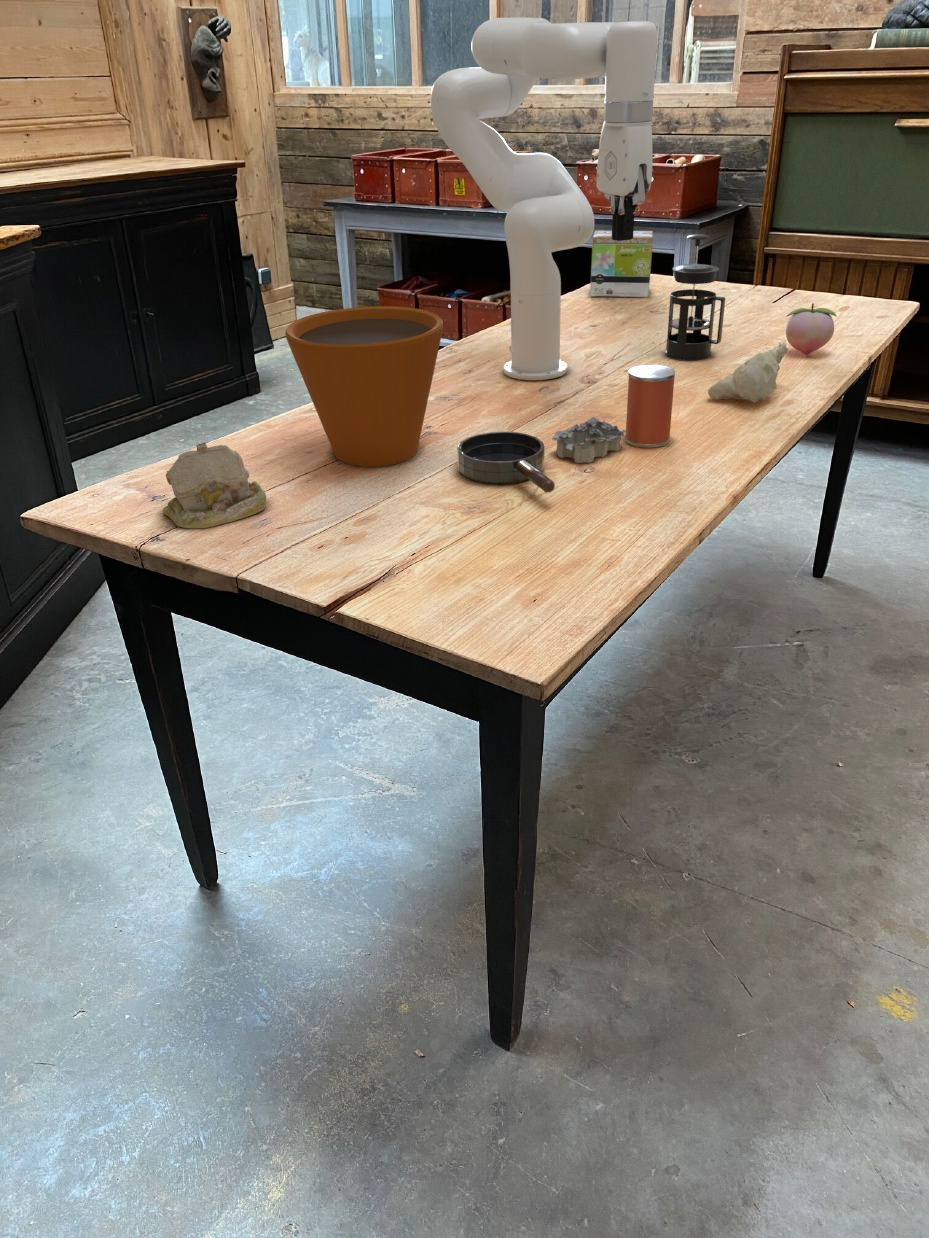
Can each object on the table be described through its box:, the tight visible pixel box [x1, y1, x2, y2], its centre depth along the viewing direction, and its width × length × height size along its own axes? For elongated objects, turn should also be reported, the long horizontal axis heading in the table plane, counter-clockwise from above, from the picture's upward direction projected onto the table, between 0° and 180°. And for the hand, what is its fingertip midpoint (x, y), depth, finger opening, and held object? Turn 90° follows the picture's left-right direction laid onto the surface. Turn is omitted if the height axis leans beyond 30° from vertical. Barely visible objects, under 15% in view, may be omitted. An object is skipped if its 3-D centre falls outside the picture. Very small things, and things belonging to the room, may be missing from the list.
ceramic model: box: [162, 441, 267, 529], centre depth 131 cm, size 14×11×10 cm
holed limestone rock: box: [707, 342, 789, 403], centre depth 166 cm, size 15×7×15 cm
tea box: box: [589, 230, 654, 299], centre depth 240 cm, size 15×10×15 cm, turn 81°
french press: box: [664, 233, 726, 362], centre depth 187 cm, size 12×9×23 cm
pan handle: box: [516, 460, 556, 493], centre depth 132 cm, size 10×2×2 cm, turn 23°
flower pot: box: [284, 305, 444, 468], centre depth 147 cm, size 24×24×20 cm
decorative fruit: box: [785, 303, 838, 355], centre depth 188 cm, size 9×8×10 cm
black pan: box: [456, 431, 546, 485], centre depth 142 cm, size 13×13×4 cm
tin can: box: [624, 364, 676, 449], centre depth 148 cm, size 7×7×11 cm
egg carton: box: [552, 416, 626, 464], centre depth 147 cm, size 11×8×4 cm
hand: (622, 239), depth 156 cm, fingers closed
